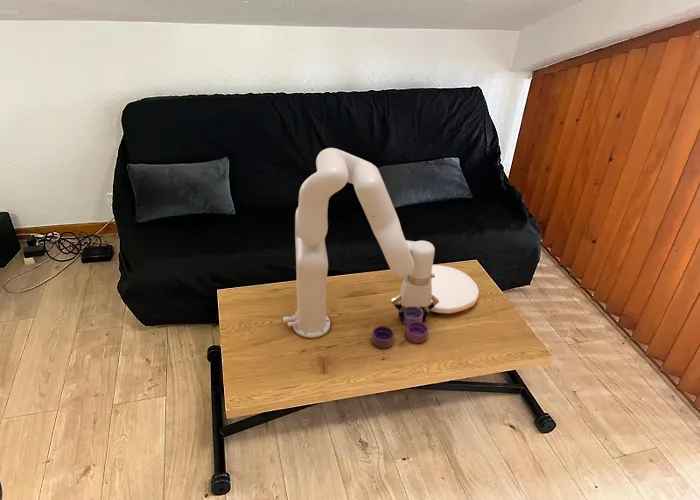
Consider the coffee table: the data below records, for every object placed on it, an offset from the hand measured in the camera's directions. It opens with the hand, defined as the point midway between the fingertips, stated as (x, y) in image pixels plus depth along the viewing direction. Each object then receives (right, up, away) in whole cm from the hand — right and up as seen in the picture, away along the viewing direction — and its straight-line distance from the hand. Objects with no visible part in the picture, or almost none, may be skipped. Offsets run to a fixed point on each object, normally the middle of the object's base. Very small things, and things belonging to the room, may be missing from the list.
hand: (412, 318), depth 170 cm
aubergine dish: (-11, -6, -9) cm, 16 cm away
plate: (+12, +7, +14) cm, 20 cm away
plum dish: (0, -5, -6) cm, 8 cm away
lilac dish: (0, -1, 0) cm, 1 cm away
